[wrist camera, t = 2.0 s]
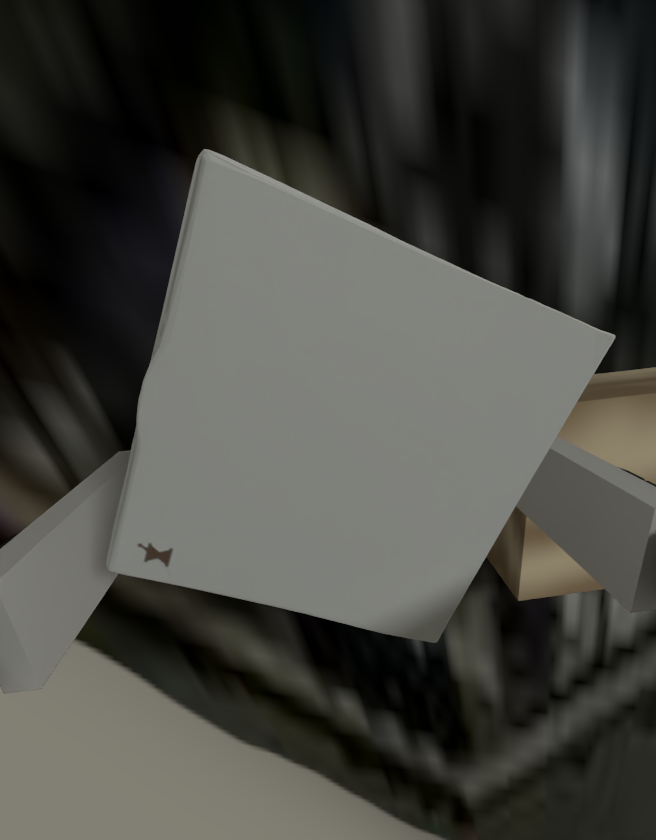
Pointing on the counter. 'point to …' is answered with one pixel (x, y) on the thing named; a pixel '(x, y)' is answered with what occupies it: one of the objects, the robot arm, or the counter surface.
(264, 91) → the counter surface
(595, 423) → the maple block
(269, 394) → the supplement box
